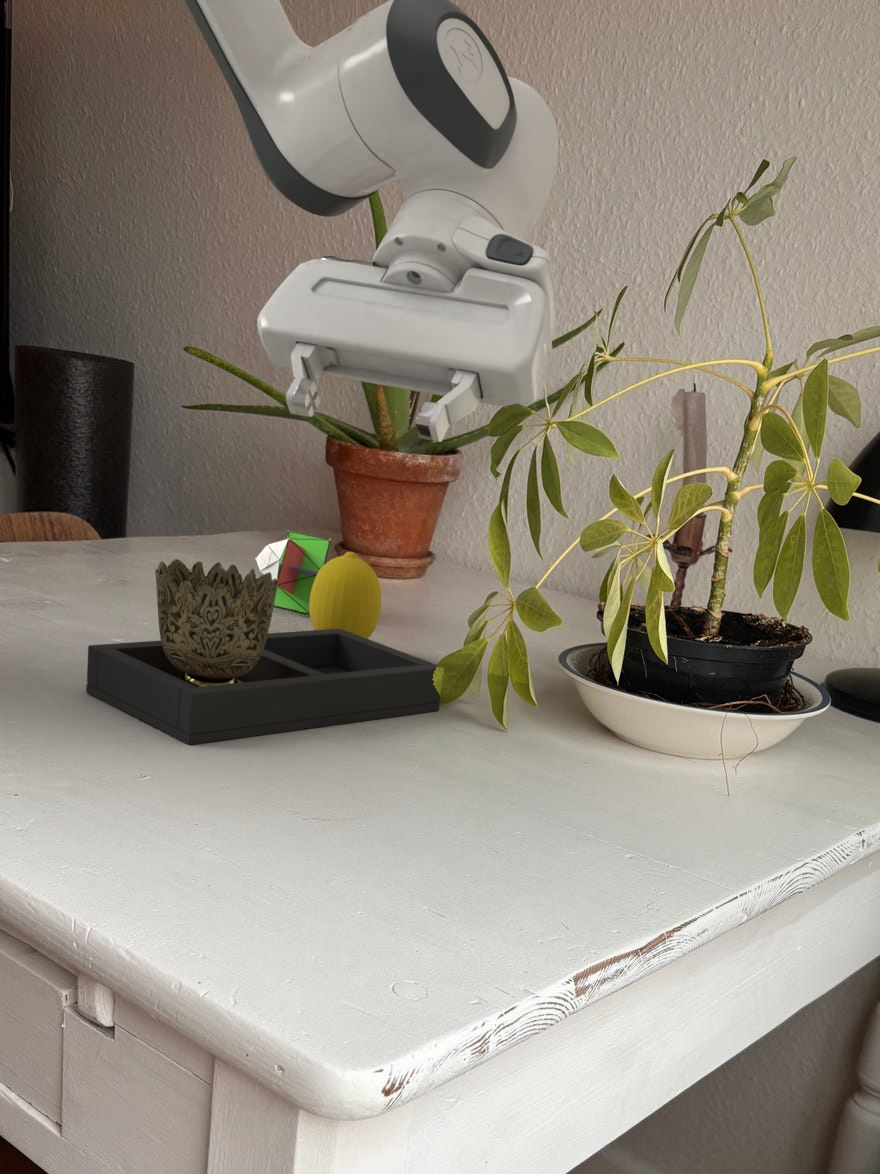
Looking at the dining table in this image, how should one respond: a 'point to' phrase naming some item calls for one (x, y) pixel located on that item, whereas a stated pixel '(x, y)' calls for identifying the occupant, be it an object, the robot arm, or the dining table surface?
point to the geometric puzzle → (294, 568)
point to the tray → (266, 686)
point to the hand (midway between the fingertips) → (361, 420)
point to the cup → (213, 620)
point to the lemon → (346, 596)
